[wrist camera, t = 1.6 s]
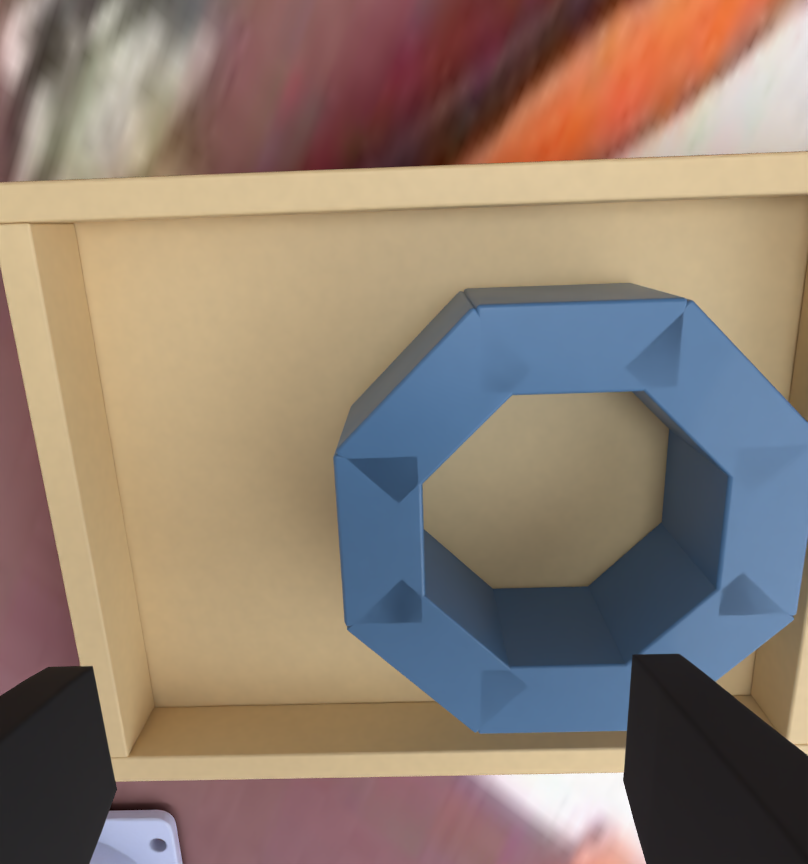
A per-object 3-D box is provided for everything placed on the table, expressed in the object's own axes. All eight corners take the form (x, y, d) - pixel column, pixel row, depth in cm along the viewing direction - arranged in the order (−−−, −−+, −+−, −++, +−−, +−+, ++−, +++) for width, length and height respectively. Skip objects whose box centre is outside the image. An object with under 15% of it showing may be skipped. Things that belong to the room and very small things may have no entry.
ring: (716, 639, 19) (781, 729, 16) (362, 647, 19) (352, 738, 16) (757, 278, 16) (846, 292, 13) (341, 292, 16) (322, 309, 13)
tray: (769, 710, 20) (813, 770, 18) (136, 722, 20) (102, 783, 18) (847, 157, 16) (918, 146, 13) (41, 188, 16) (-18, 182, 14)
